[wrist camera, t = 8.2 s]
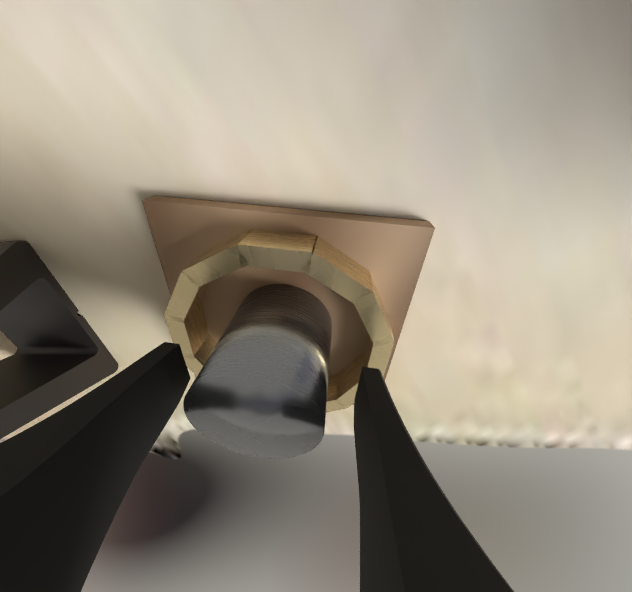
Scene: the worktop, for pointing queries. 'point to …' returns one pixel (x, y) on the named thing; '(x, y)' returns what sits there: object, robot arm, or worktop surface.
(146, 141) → the worktop surface
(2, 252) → the phone stand
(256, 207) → the ring plate
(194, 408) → the cylinder
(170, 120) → the worktop surface
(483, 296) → the worktop surface
